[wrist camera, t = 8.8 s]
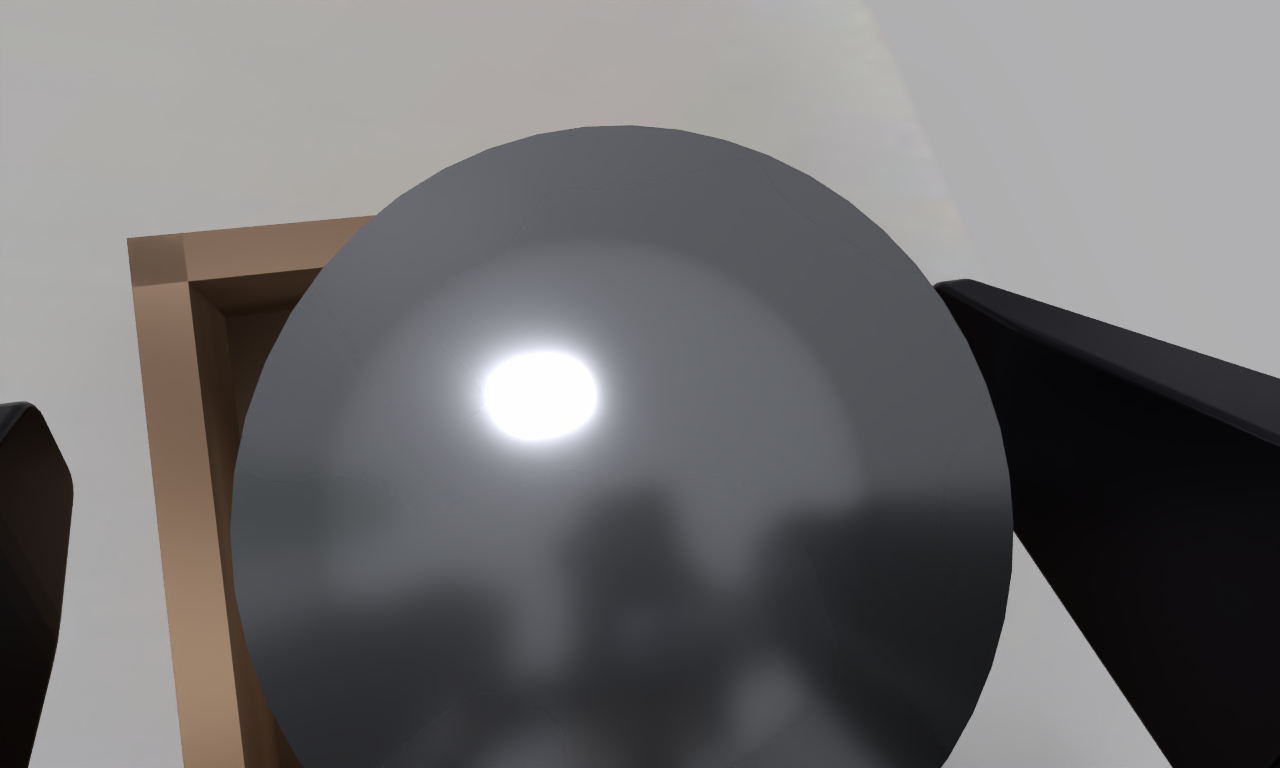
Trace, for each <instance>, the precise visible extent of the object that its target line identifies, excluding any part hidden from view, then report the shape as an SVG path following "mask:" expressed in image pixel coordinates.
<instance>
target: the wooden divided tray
mask: <svg viewBox="0 0 1280 768" xmlns="http://www.w3.org/2000/svg"><path fill="white" fill-rule="evenodd" d="M375 216H376V215H375ZM375 216H364V217H353V218H342V219H331V220H320V221H309V222H298V223H288V224H277V225H266V226H255V227H244V228H233V229H222V230H211V231H201V232H190V233H179V234H168V235H157V236H146V237H135V238H127V245H128V254H129V263H130V272H131V282H132V291H133V300H134V309H135V319H136V328H137V337H138V346H139V355H140V365H141V374H142V383H143V392H144V402H145V411H146V420H147V429H148V439H149V448H150V457H151V466H152V476H153V485H154V494H155V503H156V513H157V522H158V531H159V540H160V550H161V559H162V568H163V577H164V587H165V596H166V605H167V614H168V624H169V633H170V642H171V651H172V661H173V670H174V679H175V688H176V698H177V707H178V716H179V725H180V734H181V744H182V753H183V762H184V768H304V766H303V765H302V764H301V763H300V761H299V760H298V759H297V757H296V755H295V753H294V751H293V750H292V748H291V746H290V744H289V742H288V741H287V739H286V737H285V735H284V733H283V731H282V730H281V728H280V726H279V724H278V722H277V721H276V719H275V717H274V715H273V713H272V711H271V710H270V708H269V706H268V704H267V701H266V698H265V695H264V693H263V690H262V687H261V685H260V682H259V679H258V677H257V674H256V671H255V669H254V666H253V663H252V661H251V658H250V655H249V653H248V650H247V646H246V641H245V637H244V632H243V628H242V623H241V619H240V614H239V609H238V605H237V600H236V596H235V591H234V578H233V564H232V551H231V537H230V526H231V511H232V495H233V480H234V471H235V466H236V461H237V456H238V451H239V447H240V442H241V437H242V432H243V427H244V423H245V418H246V414H247V412H248V409H249V406H250V403H251V400H252V398H253V395H254V392H255V389H256V386H257V384H258V381H259V378H260V375H261V372H262V370H263V367H264V364H265V362H266V360H267V358H268V356H269V354H270V352H271V350H272V348H273V346H274V344H275V343H276V341H277V339H278V337H279V335H280V333H281V331H282V329H283V327H284V325H285V323H286V321H287V319H288V318H289V316H290V314H291V312H292V311H293V309H294V308H295V307H296V305H297V304H298V302H299V301H300V299H301V298H302V297H303V295H304V294H305V292H306V291H307V290H308V288H309V287H310V285H311V284H312V282H313V281H314V280H315V278H316V277H317V275H318V274H319V273H320V271H321V270H322V268H323V267H324V266H325V265H326V264H327V263H328V262H329V261H330V260H331V259H332V258H333V257H334V256H335V254H336V253H337V252H338V251H339V250H340V249H341V248H342V247H343V246H344V245H345V244H346V243H347V242H348V241H349V239H350V238H351V237H352V236H353V235H354V234H355V233H356V232H357V231H358V230H359V229H360V228H361V227H362V226H364V225H365V224H366V223H367V222H369V221H370V220H371V219H372V218H373V217H375Z"/></svg>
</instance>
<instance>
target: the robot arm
mask: <svg viewBox="0 0 1280 768" xmlns="http://www.w3.org/2000/svg"><path fill="white" fill-rule="evenodd" d="M932 287H933V288H934V289H935V290H936V292H937V293H938V294H939V296H940V297H941V298H942V300H943V301H944V303H945V305H946V306H947V308H948V310H949V311H950V313H951V315H952V316H953V318H954V320H955V322H956V323H957V325H958V327H959V328H960V330H961V332H962V333H963V335H964V337H965V338H966V340H967V342H968V344H969V347H970V349H971V351H972V353H973V356H974V358H975V360H976V362H977V365H978V367H979V369H980V371H981V374H982V376H983V378H984V380H985V383H986V385H987V388H988V392H989V395H990V398H991V401H992V404H993V407H994V410H995V414H996V417H997V420H998V423H999V426H1000V430H1001V435H1002V440H1003V445H1004V450H1005V455H1006V460H1007V465H1008V470H1009V476H1010V488H1011V501H1012V513H1013V531H1014V533H1015V534H1016V536H1017V537H1018V538H1019V540H1020V541H1021V543H1022V544H1023V546H1024V547H1025V549H1026V550H1027V552H1028V553H1029V555H1030V556H1031V558H1032V559H1033V561H1034V562H1035V564H1036V565H1037V567H1038V568H1039V570H1040V571H1041V573H1042V574H1043V576H1044V577H1045V579H1046V580H1047V582H1048V583H1049V585H1050V586H1051V588H1052V589H1053V591H1054V592H1055V594H1056V595H1057V597H1058V598H1059V600H1060V601H1061V603H1062V604H1063V605H1064V607H1065V608H1066V610H1067V611H1068V613H1069V614H1070V616H1071V617H1072V619H1073V620H1074V622H1075V623H1076V625H1077V626H1078V628H1079V629H1080V631H1081V632H1082V634H1083V635H1084V637H1085V638H1086V640H1087V641H1088V643H1089V644H1090V646H1091V647H1092V649H1093V650H1094V652H1095V653H1096V655H1097V656H1098V658H1099V659H1100V661H1101V662H1102V664H1103V665H1104V667H1105V668H1106V670H1107V671H1108V672H1109V674H1110V675H1111V677H1112V678H1113V680H1114V681H1115V683H1116V684H1117V686H1118V687H1119V689H1120V690H1121V692H1122V693H1123V695H1124V696H1125V698H1126V699H1127V701H1128V702H1129V704H1130V705H1131V707H1132V708H1133V710H1134V711H1135V713H1136V714H1137V716H1138V717H1139V719H1140V720H1141V722H1142V723H1143V725H1144V726H1145V728H1146V729H1147V731H1148V732H1149V734H1150V735H1151V736H1152V738H1153V739H1154V741H1155V742H1156V744H1157V745H1158V747H1159V748H1160V750H1161V751H1162V753H1163V754H1164V756H1165V757H1166V759H1167V760H1168V762H1169V763H1170V765H1171V766H1172V768H1280V379H1279V378H1276V377H1273V376H1270V375H1267V374H1263V373H1260V372H1257V371H1254V370H1251V369H1248V368H1245V367H1241V366H1239V365H1236V364H1232V363H1229V362H1226V361H1223V360H1220V359H1217V358H1214V357H1211V356H1208V355H1204V354H1201V353H1198V352H1195V351H1192V350H1189V349H1186V348H1183V347H1180V346H1177V345H1173V344H1170V343H1167V342H1164V341H1161V340H1158V339H1155V338H1152V337H1149V336H1145V335H1142V334H1139V333H1136V332H1133V331H1130V330H1127V329H1123V328H1121V327H1117V326H1114V325H1111V324H1108V323H1105V322H1102V321H1099V320H1096V319H1093V318H1089V317H1086V316H1083V315H1080V314H1077V313H1074V312H1071V311H1068V310H1065V309H1062V308H1059V307H1055V306H1052V305H1049V304H1046V303H1043V302H1040V301H1037V300H1034V299H1031V298H1027V297H1024V296H1021V295H1018V294H1015V293H1012V292H1009V291H1006V290H1003V289H1000V288H996V287H993V286H990V285H987V284H984V283H981V282H978V281H975V280H971V279H959V280H951V281H944V282H939V283H936V284H935V285H933V286H932ZM73 494H74V493H73V482H72V477H71V474H70V471H69V469H68V466H67V464H66V462H65V460H64V458H63V456H62V454H61V452H60V450H59V448H58V446H57V444H56V442H55V440H54V438H53V436H52V434H51V432H50V429H49V427H48V425H47V423H46V421H45V419H44V417H43V415H42V414H41V412H40V411H39V410H38V409H37V408H36V406H35V405H33V404H31V403H28V402H24V401H22V402H13V403H5V404H0V768H28V765H29V761H30V757H31V753H32V749H33V745H34V741H35V737H36V733H37V729H38V724H39V720H40V716H41V712H42V708H43V704H44V700H45V696H46V692H47V688H48V683H49V679H50V675H51V671H52V667H53V662H54V657H55V653H56V648H57V643H58V636H59V629H60V622H61V613H62V603H63V594H64V584H65V574H66V564H67V555H68V545H69V535H70V525H71V516H72V506H73Z"/></svg>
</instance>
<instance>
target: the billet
mask: <svg viewBox="0 0 1280 768" xmlns="http://www.w3.org/2000/svg"><path fill="white" fill-rule="evenodd" d="M230 537H231V551H232V564H233V578H234V591H235V596H236V600H237V605H238V609H239V614H240V619H241V623H242V628H243V632H244V637H245V641H246V646H247V650H248V653H249V655H250V658H251V661H252V663H253V666H254V669H255V671H256V674H257V677H258V679H259V682H260V685H261V687H262V690H263V693H264V695H265V698H266V701H267V704H268V706H269V708H270V710H271V711H272V713H273V715H274V717H275V719H276V721H277V722H278V724H279V726H280V728H281V730H282V731H283V733H284V735H285V737H286V739H287V741H288V742H289V744H290V746H291V748H292V750H293V751H294V753H295V755H296V757H297V759H298V760H299V761H300V763H301V764H302V765H303V766H304V768H941V767H942V765H943V764H944V763H945V761H946V760H947V759H948V757H949V755H950V754H951V752H952V750H953V748H954V746H955V745H956V743H957V741H958V739H959V737H960V736H961V734H962V732H963V730H964V728H965V727H966V725H967V723H968V721H969V719H970V718H971V716H972V714H973V712H974V709H975V707H976V704H977V702H978V699H979V697H980V695H981V692H982V690H983V687H984V685H985V682H986V680H987V677H988V675H989V672H990V670H991V667H992V664H993V660H994V656H995V653H996V649H997V645H998V642H999V638H1000V634H1001V631H1002V627H1003V623H1004V620H1005V613H1006V606H1007V600H1008V593H1009V586H1010V579H1011V573H1012V548H1013V513H1012V501H1011V488H1010V476H1009V470H1008V465H1007V460H1006V455H1005V450H1004V445H1003V440H1002V435H1001V430H1000V426H999V423H998V420H997V417H996V414H995V410H994V407H993V404H992V401H991V398H990V395H989V392H988V388H987V385H986V383H985V380H984V378H983V376H982V374H981V371H980V369H979V367H978V365H977V362H976V360H975V358H974V356H973V353H972V351H971V349H970V347H969V344H968V342H967V340H966V338H965V337H964V335H963V333H962V332H961V330H960V328H959V327H958V325H957V323H956V322H955V320H954V318H953V316H952V315H951V313H950V311H949V310H948V308H947V306H946V305H945V303H944V301H943V300H942V298H941V297H940V296H939V294H938V293H937V292H936V290H935V289H934V288H933V287H932V285H931V284H930V283H929V281H928V280H927V279H926V277H925V276H924V275H923V273H922V272H921V271H920V269H919V268H918V267H917V265H916V264H915V263H914V262H913V261H912V260H911V259H910V258H909V257H908V256H907V254H906V253H905V252H904V251H903V250H902V249H901V248H900V247H899V246H898V245H897V244H896V243H895V242H894V241H893V240H892V239H891V238H890V237H889V236H888V234H887V233H886V232H885V231H884V230H882V229H881V228H880V227H879V226H878V225H876V224H875V223H874V222H873V221H872V220H870V219H869V218H868V217H867V216H866V215H865V214H863V213H862V212H861V211H860V210H859V209H857V208H856V207H855V206H854V205H853V204H851V203H850V202H849V201H848V200H846V199H844V198H843V197H841V196H840V195H838V194H837V193H835V192H834V191H832V190H831V189H829V188H828V187H826V186H825V185H823V184H822V183H820V182H818V181H817V180H815V179H814V178H812V177H811V176H809V175H807V174H805V173H803V172H801V171H799V170H797V169H795V168H793V167H791V166H789V165H787V164H785V163H783V162H781V161H779V160H777V159H775V158H773V157H771V156H769V155H766V154H763V153H760V152H757V151H755V150H752V149H749V148H746V147H743V146H741V145H738V144H735V143H732V142H729V141H726V140H723V139H718V138H714V137H709V136H705V135H700V134H696V133H691V132H687V131H682V130H676V129H665V128H654V127H644V126H633V125H630V126H598V127H581V128H575V129H569V130H562V131H556V132H550V133H544V134H538V135H534V136H530V137H527V138H524V139H520V140H517V141H514V142H510V143H507V144H503V145H500V146H497V147H493V148H490V149H487V150H485V151H483V152H481V153H479V154H476V155H474V156H472V157H470V158H467V159H465V160H463V161H461V162H458V163H456V164H454V165H452V166H449V167H447V168H445V169H443V170H441V171H440V172H438V173H436V174H435V175H433V176H431V177H430V178H428V179H427V180H425V181H423V182H422V183H420V184H418V185H417V186H415V187H414V188H412V189H410V190H409V191H407V192H406V193H404V194H402V195H401V196H399V197H398V198H397V199H395V200H394V201H393V202H392V203H391V204H389V205H388V206H387V207H386V208H384V209H383V210H382V211H381V212H380V213H378V214H377V215H376V216H375V217H373V218H372V219H371V220H370V221H369V222H367V223H366V224H365V225H364V226H362V227H361V228H360V229H359V230H358V231H357V232H356V233H355V234H354V235H353V236H352V237H351V238H350V239H349V241H348V242H347V243H346V244H345V245H344V246H343V247H342V248H341V249H340V250H339V251H338V252H337V253H336V254H335V256H334V257H333V258H332V259H331V260H330V261H329V262H328V263H327V264H326V265H325V266H324V267H323V268H322V270H321V271H320V273H319V274H318V275H317V277H316V278H315V280H314V281H313V282H312V284H311V285H310V287H309V288H308V290H307V291H306V292H305V294H304V295H303V297H302V298H301V299H300V301H299V302H298V304H297V305H296V307H295V308H294V309H293V311H292V312H291V314H290V316H289V318H288V319H287V321H286V323H285V325H284V327H283V329H282V331H281V333H280V335H279V337H278V339H277V341H276V343H275V344H274V346H273V348H272V350H271V352H270V354H269V356H268V358H267V360H266V362H265V364H264V367H263V370H262V372H261V375H260V378H259V381H258V384H257V386H256V389H255V392H254V395H253V398H252V400H251V403H250V406H249V409H248V412H247V414H246V418H245V423H244V427H243V432H242V437H241V442H240V447H239V451H238V456H237V461H236V466H235V471H234V480H233V495H232V511H231V526H230Z"/></svg>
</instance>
